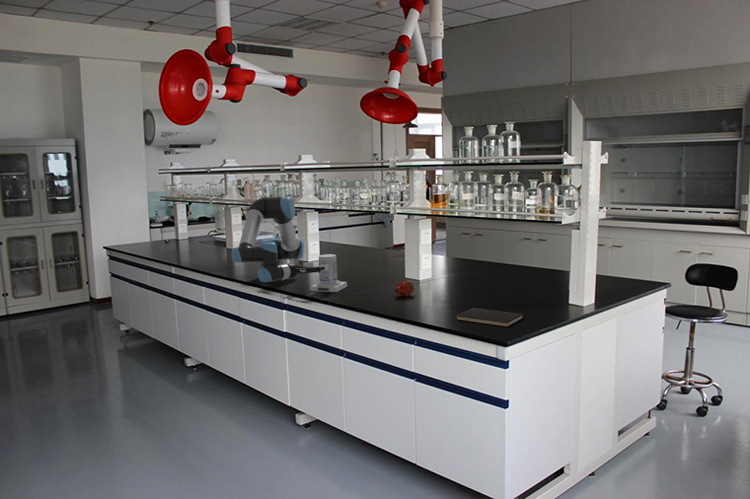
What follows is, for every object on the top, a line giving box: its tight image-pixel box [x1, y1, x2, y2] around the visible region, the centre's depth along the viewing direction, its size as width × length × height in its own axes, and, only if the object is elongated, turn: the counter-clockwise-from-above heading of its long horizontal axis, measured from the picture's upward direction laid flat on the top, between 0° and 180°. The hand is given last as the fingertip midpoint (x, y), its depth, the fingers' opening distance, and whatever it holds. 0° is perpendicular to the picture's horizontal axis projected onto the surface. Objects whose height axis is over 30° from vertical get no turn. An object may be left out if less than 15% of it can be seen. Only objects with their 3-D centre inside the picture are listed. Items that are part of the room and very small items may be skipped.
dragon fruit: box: [394, 280, 415, 298], centre depth 296 cm, size 8×8×12 cm
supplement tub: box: [318, 253, 338, 284], centre depth 319 cm, size 10×10×15 cm
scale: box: [309, 279, 348, 293], centre depth 320 cm, size 15×15×4 cm
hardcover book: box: [455, 307, 524, 327], centre depth 248 cm, size 16×23×2 cm
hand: (320, 265), depth 315 cm, fingers open, 13 cm apart
